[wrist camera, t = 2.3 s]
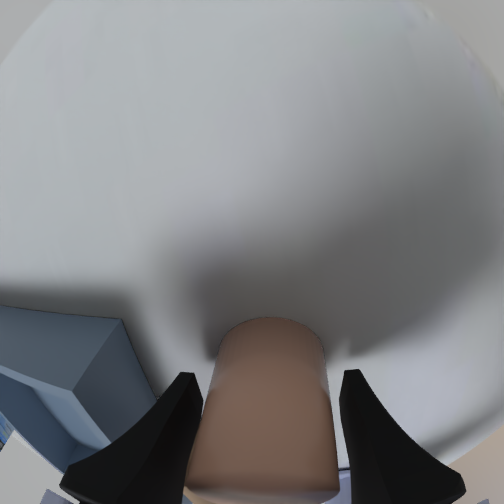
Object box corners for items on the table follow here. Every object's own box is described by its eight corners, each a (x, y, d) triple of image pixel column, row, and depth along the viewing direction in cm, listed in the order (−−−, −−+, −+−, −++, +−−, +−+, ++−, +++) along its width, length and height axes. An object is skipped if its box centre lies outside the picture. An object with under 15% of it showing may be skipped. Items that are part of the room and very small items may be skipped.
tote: (121, 319, 13) (71, 391, 8) (199, 472, 20) (189, 516, 16) (-15, 302, 15) (-53, 337, 10) (77, 441, 22) (61, 473, 17)
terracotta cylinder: (326, 314, 12) (353, 466, 5) (319, 388, 14) (329, 508, 7) (210, 318, 12) (164, 461, 6) (226, 389, 14) (204, 505, 8)
